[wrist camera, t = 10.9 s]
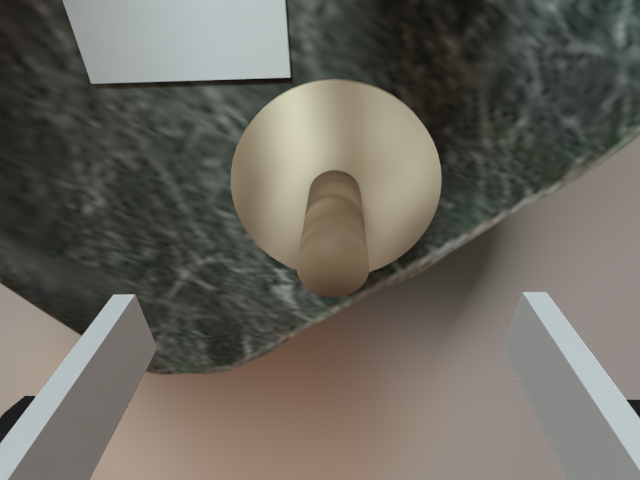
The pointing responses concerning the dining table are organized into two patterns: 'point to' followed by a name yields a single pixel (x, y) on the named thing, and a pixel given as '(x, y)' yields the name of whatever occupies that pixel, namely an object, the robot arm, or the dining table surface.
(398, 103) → the lid
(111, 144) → the dining table surface
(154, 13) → the mat
